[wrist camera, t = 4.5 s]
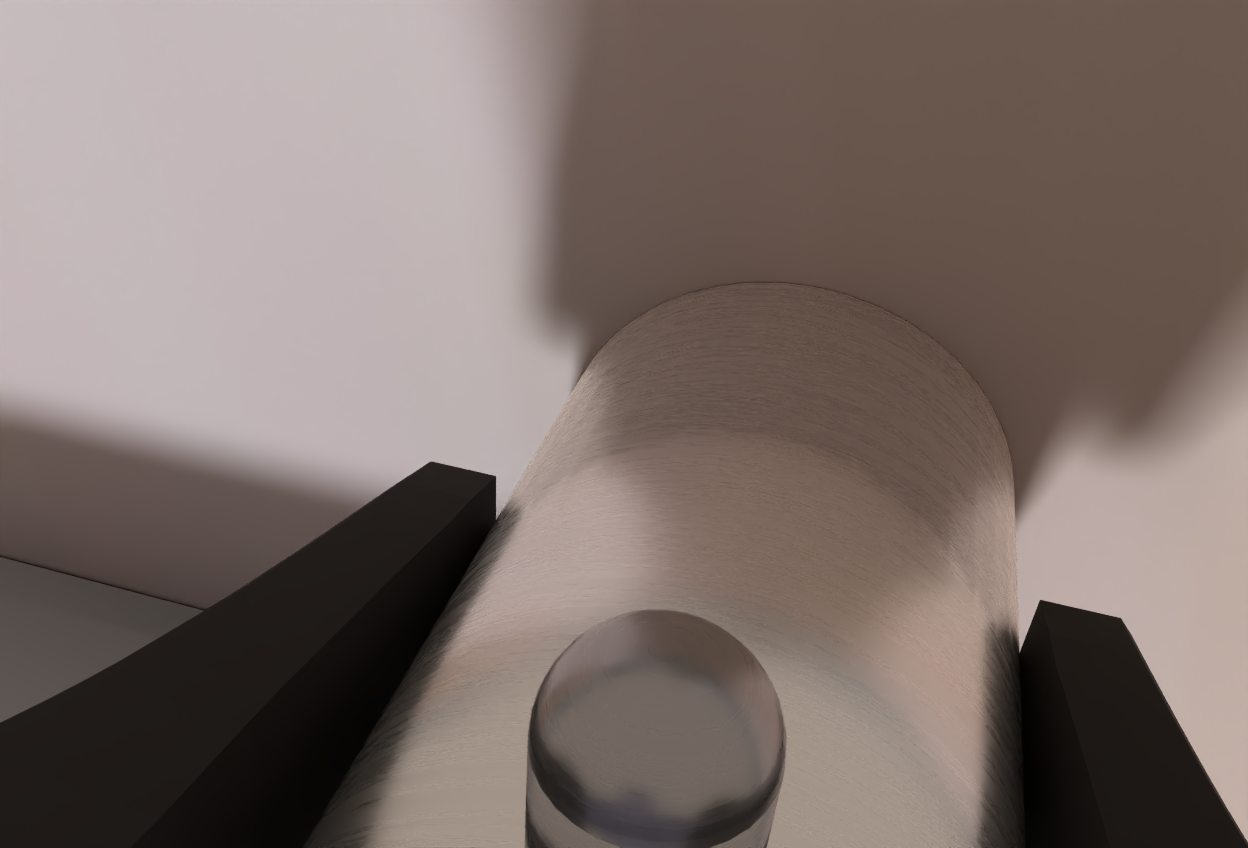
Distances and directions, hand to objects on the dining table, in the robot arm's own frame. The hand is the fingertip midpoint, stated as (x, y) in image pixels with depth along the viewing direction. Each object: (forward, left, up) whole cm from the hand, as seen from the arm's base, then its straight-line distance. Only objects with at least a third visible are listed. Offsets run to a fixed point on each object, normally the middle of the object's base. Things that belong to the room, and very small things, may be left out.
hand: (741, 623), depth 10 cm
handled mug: (0, 0, -2) cm, 2 cm away
